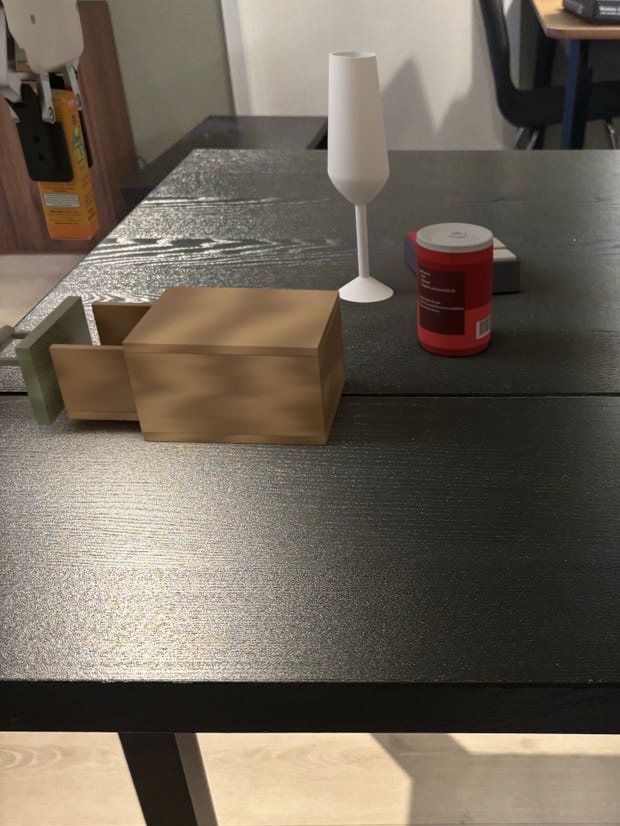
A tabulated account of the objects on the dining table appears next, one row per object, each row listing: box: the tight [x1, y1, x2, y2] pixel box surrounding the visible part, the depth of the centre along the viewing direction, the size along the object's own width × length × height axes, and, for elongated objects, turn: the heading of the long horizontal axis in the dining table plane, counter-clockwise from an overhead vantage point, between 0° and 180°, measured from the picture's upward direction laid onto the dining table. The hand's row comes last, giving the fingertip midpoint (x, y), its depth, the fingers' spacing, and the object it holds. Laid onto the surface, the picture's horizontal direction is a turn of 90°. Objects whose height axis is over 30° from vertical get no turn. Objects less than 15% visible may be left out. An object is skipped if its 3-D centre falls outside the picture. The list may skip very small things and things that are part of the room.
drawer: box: [0, 295, 155, 426], centre depth 83 cm, size 20×12×7 cm, turn 89°
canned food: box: [416, 222, 494, 357], centre depth 95 cm, size 8×8×11 cm
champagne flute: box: [327, 50, 394, 303], centre depth 103 cm, size 7×7×24 cm
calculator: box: [403, 231, 521, 294], centre depth 115 cm, size 11×4×15 cm
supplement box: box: [32, 87, 100, 241], centre depth 72 cm, size 3×3×10 cm
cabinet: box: [122, 285, 347, 446], centre depth 83 cm, size 16×14×9 cm
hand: (62, 171), depth 72 cm, fingers closed on supplement box, 3 cm apart
